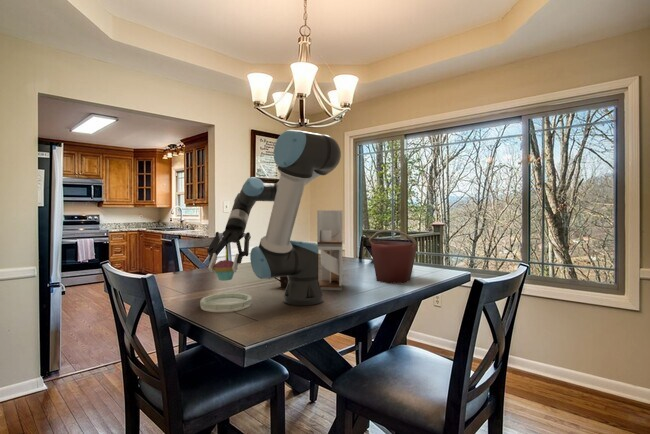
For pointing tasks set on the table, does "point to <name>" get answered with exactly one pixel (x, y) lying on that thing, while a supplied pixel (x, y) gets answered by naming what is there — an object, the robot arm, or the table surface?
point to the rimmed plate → (225, 302)
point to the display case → (330, 247)
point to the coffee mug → (283, 281)
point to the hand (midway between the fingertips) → (222, 269)
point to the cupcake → (224, 269)
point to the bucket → (393, 259)
